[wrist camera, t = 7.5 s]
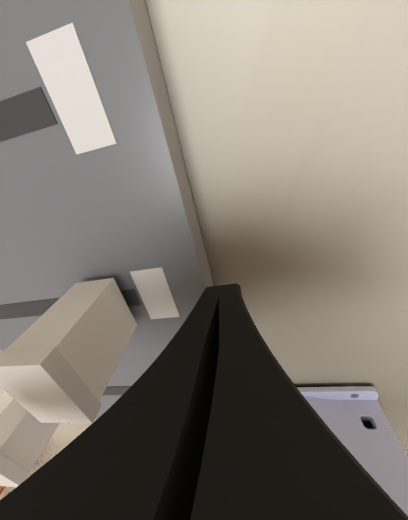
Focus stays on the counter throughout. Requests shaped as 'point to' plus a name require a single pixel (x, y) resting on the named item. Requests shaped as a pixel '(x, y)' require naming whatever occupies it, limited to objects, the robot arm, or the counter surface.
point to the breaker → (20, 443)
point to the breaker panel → (93, 174)
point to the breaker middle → (69, 354)
